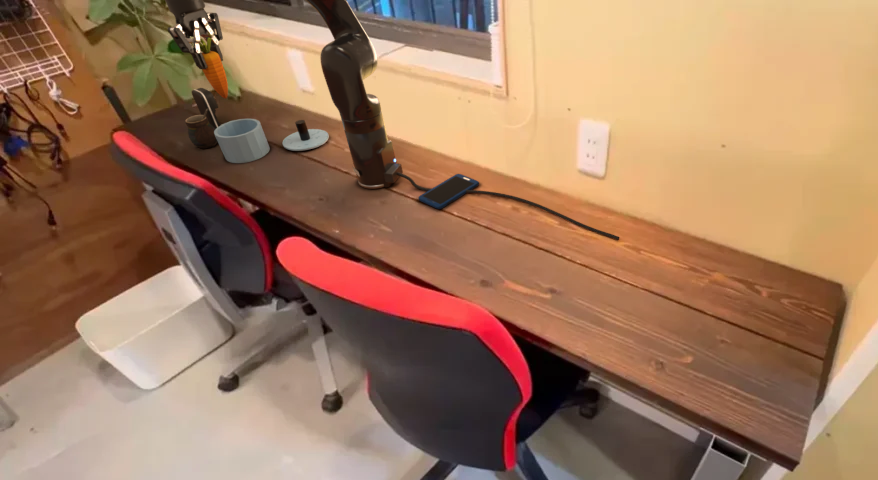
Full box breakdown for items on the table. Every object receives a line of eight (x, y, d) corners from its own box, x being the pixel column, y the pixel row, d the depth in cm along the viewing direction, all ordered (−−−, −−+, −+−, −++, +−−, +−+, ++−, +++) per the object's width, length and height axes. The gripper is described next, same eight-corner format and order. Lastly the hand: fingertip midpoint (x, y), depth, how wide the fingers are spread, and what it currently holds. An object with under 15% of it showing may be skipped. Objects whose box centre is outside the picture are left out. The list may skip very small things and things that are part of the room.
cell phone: (480, 184, 124) (480, 181, 124) (439, 210, 116) (438, 207, 116) (458, 175, 128) (458, 172, 127) (417, 200, 120) (416, 197, 120)
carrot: (239, 94, 134) (214, 33, 124) (229, 102, 131) (203, 39, 121) (221, 95, 135) (195, 33, 125) (211, 102, 131) (183, 40, 121)
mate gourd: (191, 145, 148) (174, 111, 142) (218, 136, 152) (203, 103, 145) (198, 153, 144) (181, 119, 137) (225, 144, 147) (210, 110, 141)
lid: (337, 134, 149) (332, 114, 145) (313, 154, 140) (307, 133, 136) (300, 130, 152) (293, 110, 148) (274, 150, 143) (266, 129, 139)
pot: (278, 145, 146) (269, 120, 141) (252, 165, 137) (241, 139, 132) (243, 141, 148) (233, 117, 144) (216, 161, 140) (204, 135, 135)
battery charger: (228, 127, 156) (212, 90, 149) (216, 132, 154) (199, 94, 147) (218, 121, 160) (201, 85, 152) (206, 126, 158) (189, 89, 150)
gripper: (168, -5, 110) (203, 76, 121) (214, -20, 120) (243, 55, 131) (140, -6, 112) (177, 74, 123) (188, -20, 122) (219, 54, 133)
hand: (211, 64), depth 127 cm, fingers closed on carrot, 5 cm apart
